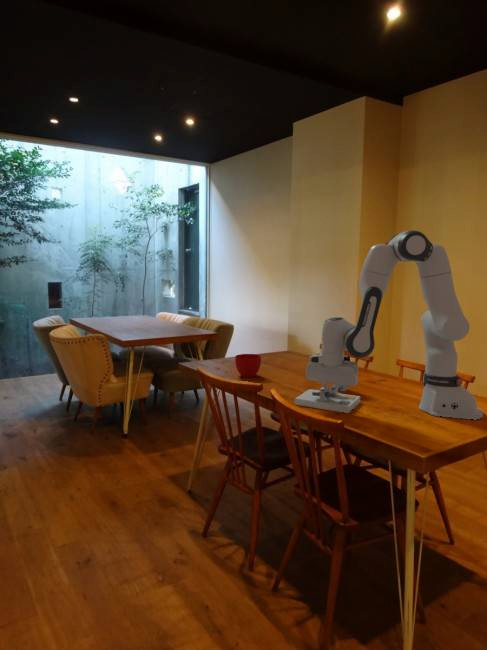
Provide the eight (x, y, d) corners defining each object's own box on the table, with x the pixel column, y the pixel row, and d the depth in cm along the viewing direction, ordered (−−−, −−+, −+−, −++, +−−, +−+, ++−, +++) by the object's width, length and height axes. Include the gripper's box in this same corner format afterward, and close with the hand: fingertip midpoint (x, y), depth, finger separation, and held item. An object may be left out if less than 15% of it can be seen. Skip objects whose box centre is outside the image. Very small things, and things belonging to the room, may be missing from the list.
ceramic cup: (262, 371, 240) (262, 352, 239) (260, 379, 224) (260, 359, 222) (237, 370, 242) (237, 352, 240) (233, 378, 225) (233, 358, 224)
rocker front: (337, 395, 181) (337, 391, 181) (334, 397, 177) (334, 394, 177) (315, 393, 185) (315, 389, 185) (312, 395, 182) (312, 392, 182)
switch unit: (360, 402, 187) (360, 388, 186) (348, 413, 173) (349, 398, 172) (309, 394, 198) (309, 381, 197) (294, 404, 184) (295, 390, 183)
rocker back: (343, 388, 188) (342, 385, 188) (340, 390, 184) (339, 387, 184) (323, 390, 192) (322, 387, 192) (319, 392, 189) (319, 389, 189)
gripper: (360, 360, 176) (358, 395, 178) (310, 354, 186) (309, 387, 188) (356, 363, 170) (354, 399, 172) (304, 357, 180) (303, 391, 182)
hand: (330, 393), depth 180 cm, fingers closed, pressing on rocker front
